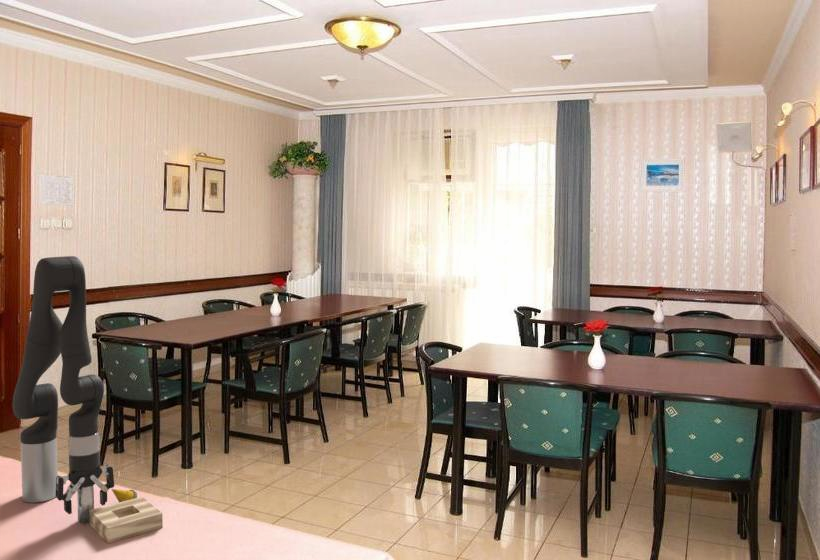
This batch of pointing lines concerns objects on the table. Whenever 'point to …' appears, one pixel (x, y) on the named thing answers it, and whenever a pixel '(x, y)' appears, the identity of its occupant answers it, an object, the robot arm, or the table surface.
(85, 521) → the pin
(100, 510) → the socket block
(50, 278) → the robot arm
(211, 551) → the table surface
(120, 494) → the drill bit
